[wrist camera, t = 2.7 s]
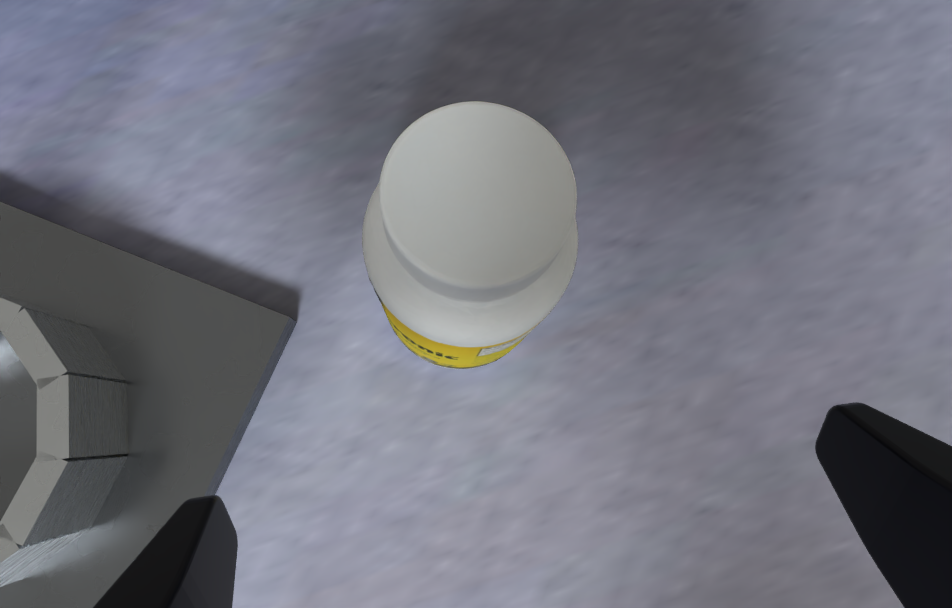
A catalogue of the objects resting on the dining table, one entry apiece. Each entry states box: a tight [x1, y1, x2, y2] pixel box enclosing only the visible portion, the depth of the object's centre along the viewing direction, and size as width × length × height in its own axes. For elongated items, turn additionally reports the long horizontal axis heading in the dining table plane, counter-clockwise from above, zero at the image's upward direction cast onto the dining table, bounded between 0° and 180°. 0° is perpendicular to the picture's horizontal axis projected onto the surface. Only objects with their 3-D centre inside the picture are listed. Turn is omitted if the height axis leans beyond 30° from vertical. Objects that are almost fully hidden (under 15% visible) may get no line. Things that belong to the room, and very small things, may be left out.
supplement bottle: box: [362, 101, 578, 369], centre depth 16 cm, size 5×5×10 cm
